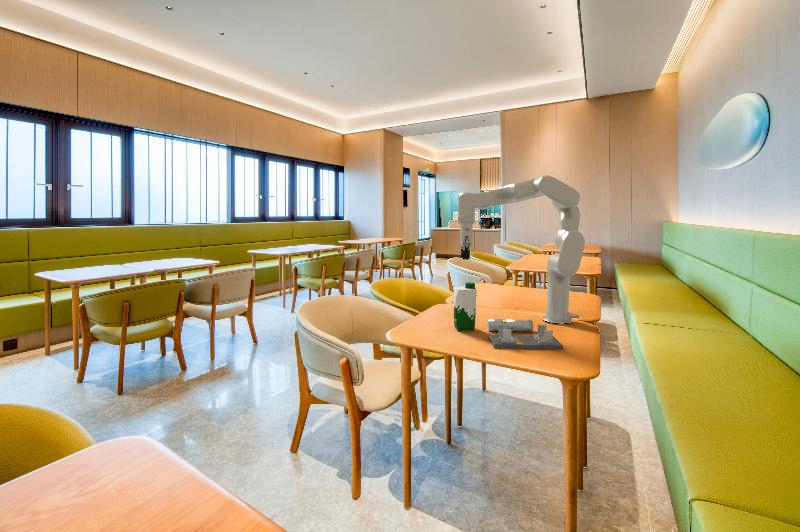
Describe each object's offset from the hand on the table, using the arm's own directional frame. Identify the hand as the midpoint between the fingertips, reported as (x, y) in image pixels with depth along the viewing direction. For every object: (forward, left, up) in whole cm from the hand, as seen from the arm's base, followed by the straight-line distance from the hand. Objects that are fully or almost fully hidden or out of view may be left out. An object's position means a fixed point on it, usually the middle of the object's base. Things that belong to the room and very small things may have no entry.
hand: (465, 258), depth 185 cm
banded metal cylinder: (-18, +16, -27) cm, 36 cm away
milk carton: (+1, +14, -29) cm, 33 cm away
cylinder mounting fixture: (-20, +33, -29) cm, 48 cm away
